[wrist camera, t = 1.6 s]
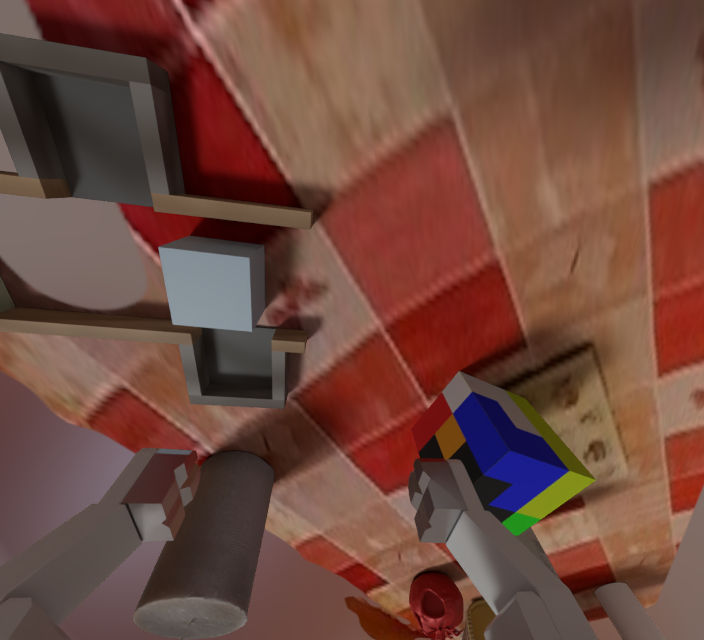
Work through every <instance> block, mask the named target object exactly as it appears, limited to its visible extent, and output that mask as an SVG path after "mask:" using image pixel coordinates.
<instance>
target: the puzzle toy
mask: <svg viewBox="0 0 704 640" xmlns="http://www.w3.org/2000/svg"><path fill="white" fill-rule="evenodd" d="M412 432H413V436H414V439H415V442H416V446H417V449H418V452H419V456H420V458H431V459H457V460H460V461H461V462H462V463H463V465H464V467H465V469H466V471H467V473H468V476H469V478H470V480H471V482H472V484H473V487H474V489H475V491H476V493H477V495H478V497H479V500H480V502H481V504H482V506H483V508H484V511H490V512H491V513H492V514H493V515H494V516H495V517H496V518H497V519H498V520H499V521H500V522H501V523H502V524H503V525H504V526H505V527H506V528H507V529H508V530H509V531H510V532H511V533H512V534H513V535H516V536H518V535H520V534H521V533H523V532H524V531H525V530H527V529H528V528H530V527H531V526H532V525H534V524H535V523H537V522H538V521H539V520H541V519H542V518H544V517H545V516H546V515H548V514H549V513H551V512H552V511H553V510H555V509H556V508H558V507H559V506H560V505H562V504H563V503H565V502H566V501H567V500H569V499H570V498H572V497H573V496H574V495H576V494H577V493H579V492H580V491H581V490H583V489H584V488H586V487H587V486H588V485H590V484H591V483H593V482H594V481H595V480H596V479H595V478H594V477H593V476H592V475H591V474H590V472H589V471H588V470H587V469H586V468H585V467H584V465H583V464H582V463H581V462H580V461H579V460H578V459H577V457H576V456H575V455H574V454H573V453H572V452H571V450H570V449H569V448H568V447H567V446H566V445H565V444H564V442H563V441H562V440H561V439H560V438H559V437H558V435H557V434H556V433H555V432H554V431H553V430H552V429H551V427H550V426H549V425H548V424H547V423H546V422H545V420H544V419H543V418H542V417H541V416H540V415H539V414H538V412H537V411H536V410H535V409H534V408H533V407H532V405H531V404H530V403H529V402H528V401H527V400H526V399H525V398H523V397H521V396H518V395H516V394H513V393H511V392H509V391H506V390H504V389H501V388H499V387H496V386H494V385H492V384H489V383H487V382H484V381H482V380H479V379H477V378H475V377H472V376H470V375H467V374H465V373H462V372H460V371H459V372H458V373H457V374H456V376H455V377H454V378H453V379H452V380H451V382H450V383H449V384H448V385H447V387H446V388H445V389H444V390H443V391H442V393H441V394H440V395H439V396H438V398H437V399H436V400H435V401H434V402H433V404H432V405H431V406H430V407H429V408H428V410H427V411H426V412H425V413H424V415H423V416H422V417H421V418H420V419H419V421H418V422H417V423H416V424H415V426H414V427H413V428H412Z"/></svg>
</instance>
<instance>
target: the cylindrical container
mask: <svg viewBox="0 0 704 640" xmlns="http://www.w3.org/2000/svg"><path fill="white" fill-rule="evenodd" d="M594 594H595V596H596V598H597V599H598V601H599V602H600V604H601V606H602V607H603V609H604V610H605V612H606V614H607V615H608V617H609V618H610V620H611V622H612V623H613V625H614V626H615V628H616V629H617V631H618V633H619V634H620V636H621V638H622V639H623V640H666V638H665V637H664V636H663V634H662V633H661V631H660V630H659V629H658V627H657V626H656V624H655V623H654V622H653V620H652V619H651V617H650V616H649V615H648V613H647V612H646V610H645V609H644V608H643V606H642V605H641V603H640V602H639V601H638V599H637V598H636V597H635V595H634V594H633V592H632V591H631V590H630V588H629V587H628V585H627V584H626V583H621V582H617V583H611V584H607V585H604V586H601V587H599V588H598V589H596V590H595V591H594Z"/></svg>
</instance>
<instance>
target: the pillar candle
mask: <svg viewBox="0 0 704 640" xmlns="http://www.w3.org/2000/svg"><path fill="white" fill-rule="evenodd" d="M200 471H201V473H200V481H199V485H198V488H197V491H196V493H195V496H194V498H193V500H191V501H190V502H189V503H188V504H187V505H186V506H184V510H185V517H184V519H183V522H182V524H181V526H180V528H179V530H178V532H177V534H176V537H175V539H174V541H166V544H165V546H164V548H163V550H162V552H161V554H160V556H159V559H158V561H157V563H156V565H155V567H154V570H153V572H152V574H151V576H150V579H149V581H148V583H147V586H146V587H145V590H144V592H143V594H142V596H141V599H140V601H139V603H138V605H137V608H136V610H135V613H134V616H133V619H134V623H136V625H137V626H139V627H140V628H141V629H143V630H146V631H148V632H150V633H153V634H157V635H159V636H164V637H171V638H178V639H181V640H183V639H200V638H211V637H217V636H221V635H224V634H228V633H230V632H233V631H235V630H237V629H238V628H240V627H241V626H244V625H245V623H246V621H247V619H248V618H247V612H248V607H249V602H250V597H251V592H252V587H253V581H254V576H255V572H256V567H257V562H258V557H259V553H260V548H261V542H262V537H263V533H264V528H265V523H266V518H267V513H268V508H269V503H270V497H271V492H272V487H273V483H274V470H273V468H272V467H271V466H270V465H268V464H267V463H266V462H265V461H263V460H262V459H261V458H259V457H258V456H256V455H254V454H251V453H248V452H242V451H227V452H223V453H218V454H215V455H214V456H211V457H210V458H209V459H207V460H206V461H205V462H204V463H203V464H202V465H201V468H200Z"/></svg>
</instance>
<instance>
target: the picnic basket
mask: <svg viewBox="0 0 704 640" xmlns="http://www.w3.org/2000/svg"><path fill="white" fill-rule="evenodd" d="M495 617H496V614H495V613H494V612H493V610H492V609H491V607H490V606H489V605H488V603H487V602H486V600H485V599H481V600H477V601H474V602H473V603H472V604H471V605H470V606H469V608H468V611H467V623H466V627H465V631H464V635H463V639H462V640H485V636H484V632H485V629H486V627H487V626H488V625H489V624H490V623H491V621H492V620H493V619H494V618H495Z"/></svg>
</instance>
